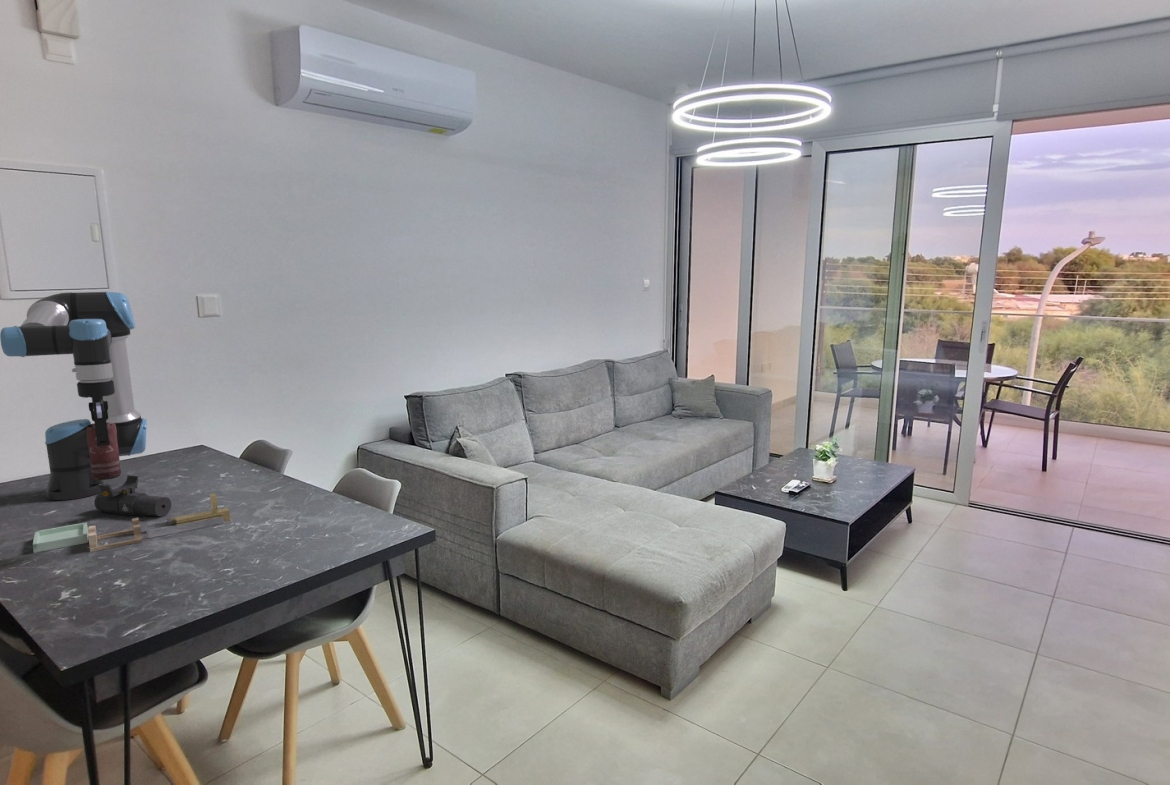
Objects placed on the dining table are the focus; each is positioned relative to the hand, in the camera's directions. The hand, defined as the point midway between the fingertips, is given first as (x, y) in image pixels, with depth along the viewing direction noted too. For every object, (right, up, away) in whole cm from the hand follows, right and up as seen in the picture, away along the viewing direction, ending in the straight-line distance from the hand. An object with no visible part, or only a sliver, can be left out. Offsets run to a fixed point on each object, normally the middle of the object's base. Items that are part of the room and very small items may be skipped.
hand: (106, 469), depth 170 cm
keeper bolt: (+16, -17, +15) cm, 28 cm away
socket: (0, -19, +3) cm, 20 cm away
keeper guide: (+13, -18, +13) cm, 25 cm away
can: (0, -2, 0) cm, 2 cm away
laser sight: (-10, -16, +24) cm, 31 cm away
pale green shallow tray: (-14, -19, +3) cm, 24 cm away
